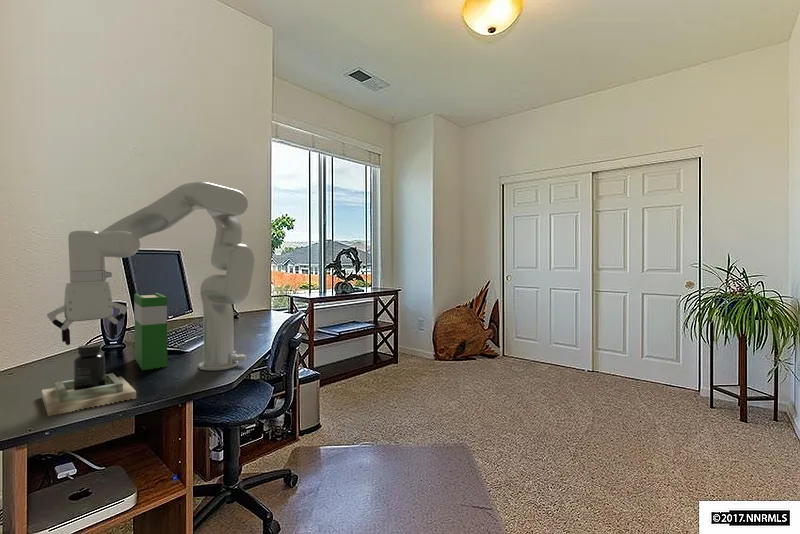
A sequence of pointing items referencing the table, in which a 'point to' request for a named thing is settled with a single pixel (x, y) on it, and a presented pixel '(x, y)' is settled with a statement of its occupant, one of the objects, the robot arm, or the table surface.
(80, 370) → the supplement bottle
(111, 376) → the socket board
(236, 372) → the table surface
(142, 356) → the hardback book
